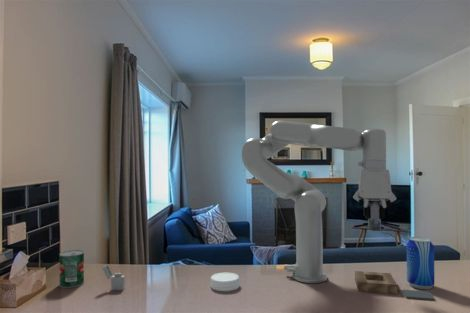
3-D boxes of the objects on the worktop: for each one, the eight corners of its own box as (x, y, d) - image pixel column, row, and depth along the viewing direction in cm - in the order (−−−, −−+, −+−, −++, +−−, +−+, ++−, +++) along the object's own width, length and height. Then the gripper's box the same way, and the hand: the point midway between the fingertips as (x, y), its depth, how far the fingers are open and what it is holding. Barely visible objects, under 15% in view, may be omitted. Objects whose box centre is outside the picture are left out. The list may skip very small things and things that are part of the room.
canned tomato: (55, 284, 126) (55, 253, 126) (78, 278, 131) (78, 248, 132) (65, 290, 120) (65, 257, 120) (88, 283, 126) (88, 252, 126)
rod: (369, 230, 121) (368, 200, 121) (367, 228, 125) (367, 199, 125) (381, 231, 120) (381, 201, 120) (379, 228, 124) (379, 199, 124)
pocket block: (358, 291, 118) (358, 282, 118) (354, 279, 130) (354, 270, 130) (397, 294, 115) (397, 284, 115) (390, 281, 127) (390, 273, 127)
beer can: (438, 291, 118) (437, 242, 118) (410, 289, 120) (410, 241, 120) (429, 282, 126) (429, 236, 126) (404, 280, 128) (403, 236, 128)
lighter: (124, 288, 122) (124, 264, 122) (123, 290, 120) (123, 266, 120) (104, 288, 122) (104, 264, 122) (102, 289, 120) (102, 265, 120)
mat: (406, 298, 112) (406, 296, 112) (402, 291, 118) (402, 289, 118) (434, 300, 110) (434, 298, 110) (428, 293, 116) (428, 291, 116)
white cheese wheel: (245, 288, 122) (245, 278, 122) (219, 294, 116) (219, 283, 116) (230, 280, 130) (230, 270, 130) (205, 285, 125) (205, 275, 125)
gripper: (349, 165, 121) (349, 219, 121) (403, 165, 117) (403, 221, 117) (347, 165, 128) (348, 216, 128) (398, 165, 124) (398, 218, 124)
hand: (374, 218), depth 123 cm, fingers closed on rod, 4 cm apart
